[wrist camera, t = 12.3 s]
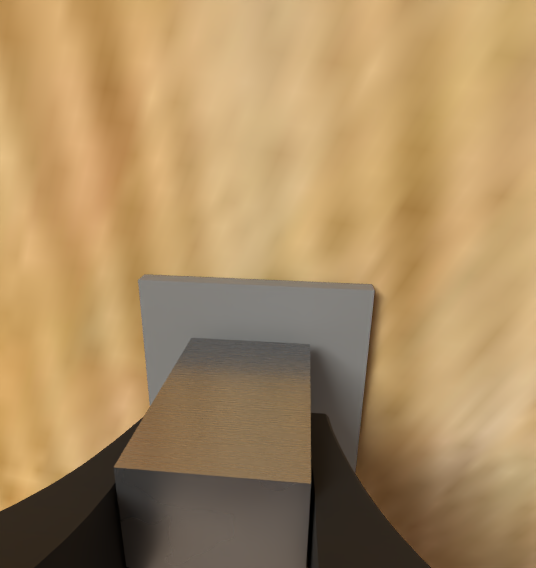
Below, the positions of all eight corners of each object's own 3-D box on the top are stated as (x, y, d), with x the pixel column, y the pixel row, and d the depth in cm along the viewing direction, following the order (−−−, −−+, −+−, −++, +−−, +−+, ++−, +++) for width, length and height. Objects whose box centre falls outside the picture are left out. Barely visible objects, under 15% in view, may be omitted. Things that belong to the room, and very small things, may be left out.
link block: (310, 344, 14) (311, 483, 8) (304, 444, 15) (302, 623, 9) (191, 337, 14) (113, 467, 9) (196, 436, 15) (130, 605, 10)
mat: (372, 284, 14) (374, 291, 14) (352, 470, 17) (354, 483, 16) (144, 274, 15) (137, 280, 14) (160, 455, 18) (154, 467, 17)
